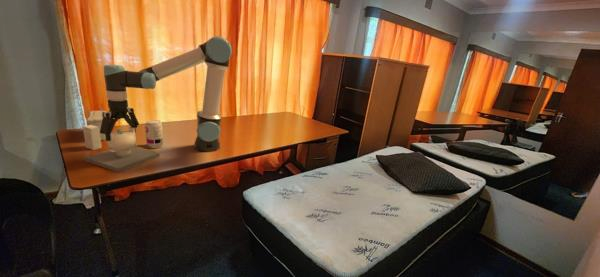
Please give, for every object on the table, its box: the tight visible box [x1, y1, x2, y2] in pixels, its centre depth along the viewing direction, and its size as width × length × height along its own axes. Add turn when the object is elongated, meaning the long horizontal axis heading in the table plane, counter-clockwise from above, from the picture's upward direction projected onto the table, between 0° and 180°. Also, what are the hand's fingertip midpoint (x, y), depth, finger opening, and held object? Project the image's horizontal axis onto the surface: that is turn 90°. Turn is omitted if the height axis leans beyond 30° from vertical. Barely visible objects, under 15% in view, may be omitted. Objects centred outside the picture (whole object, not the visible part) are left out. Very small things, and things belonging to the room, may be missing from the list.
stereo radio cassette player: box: [86, 106, 107, 141], centre depth 140 cm, size 21×8×20 cm, turn 35°
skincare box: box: [82, 124, 102, 151], centre depth 126 cm, size 6×4×12 cm
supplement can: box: [144, 119, 164, 149], centre depth 137 cm, size 8×8×15 cm
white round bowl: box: [108, 129, 137, 150], centre depth 118 cm, size 11×11×7 cm
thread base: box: [83, 145, 161, 173], centre depth 120 cm, size 22×22×7 cm
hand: (122, 142), depth 118 cm, fingers closed on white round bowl, 11 cm apart
